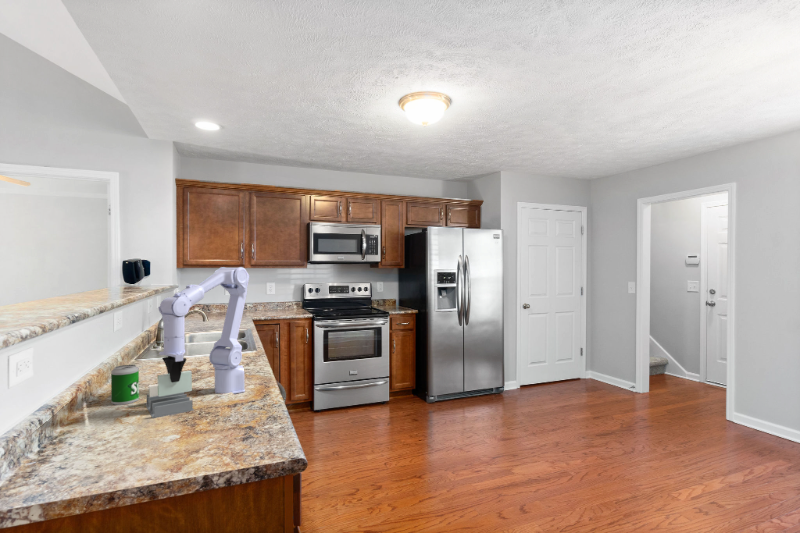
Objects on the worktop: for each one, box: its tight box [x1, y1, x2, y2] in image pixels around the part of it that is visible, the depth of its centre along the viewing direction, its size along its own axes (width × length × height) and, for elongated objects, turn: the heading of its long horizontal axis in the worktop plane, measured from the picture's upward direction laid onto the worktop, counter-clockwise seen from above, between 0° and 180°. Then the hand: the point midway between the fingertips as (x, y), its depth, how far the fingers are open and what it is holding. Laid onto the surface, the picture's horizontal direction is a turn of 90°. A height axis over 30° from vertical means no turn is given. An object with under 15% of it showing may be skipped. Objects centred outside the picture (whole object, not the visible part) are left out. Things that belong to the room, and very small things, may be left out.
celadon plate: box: [157, 370, 193, 397], centre depth 130 cm, size 9×2×6 cm, turn 129°
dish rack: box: [144, 392, 195, 419], centre depth 131 cm, size 11×16×4 cm
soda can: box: [110, 364, 140, 406], centre depth 137 cm, size 8×8×12 cm
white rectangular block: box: [148, 383, 158, 397], centre depth 136 cm, size 9×2×6 cm, turn 128°
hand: (174, 380), depth 130 cm, fingers closed on celadon plate, 2 cm apart
